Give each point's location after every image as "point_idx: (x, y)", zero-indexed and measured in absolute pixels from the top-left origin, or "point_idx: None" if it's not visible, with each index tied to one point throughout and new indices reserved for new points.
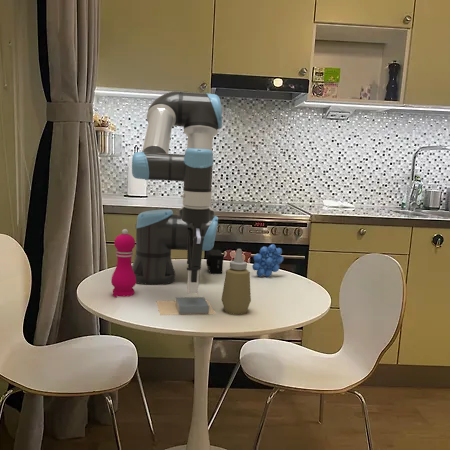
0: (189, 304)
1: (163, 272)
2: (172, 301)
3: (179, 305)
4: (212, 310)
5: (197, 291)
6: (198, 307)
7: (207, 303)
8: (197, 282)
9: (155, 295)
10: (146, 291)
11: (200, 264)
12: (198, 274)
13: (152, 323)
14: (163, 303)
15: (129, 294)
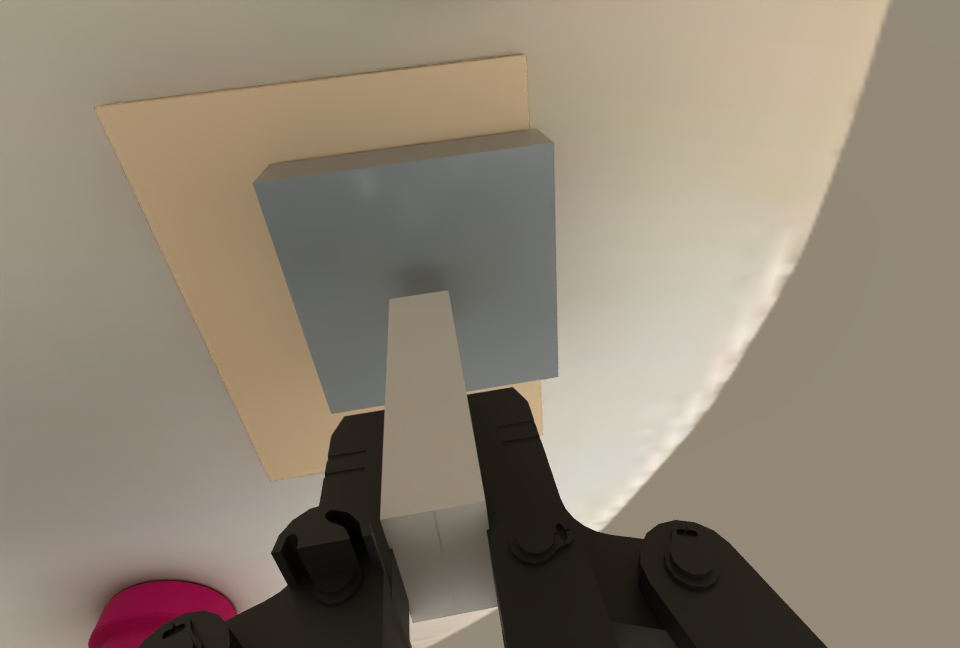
0: (510, 312)
1: None
2: (244, 397)
3: (535, 377)
4: (428, 81)
5: (450, 303)
6: (552, 237)
7: (472, 154)
8: (461, 369)
9: (88, 493)
10: (16, 545)
11: (817, 641)
12: (474, 442)
13: (633, 444)
14: (310, 441)
15: (206, 607)
